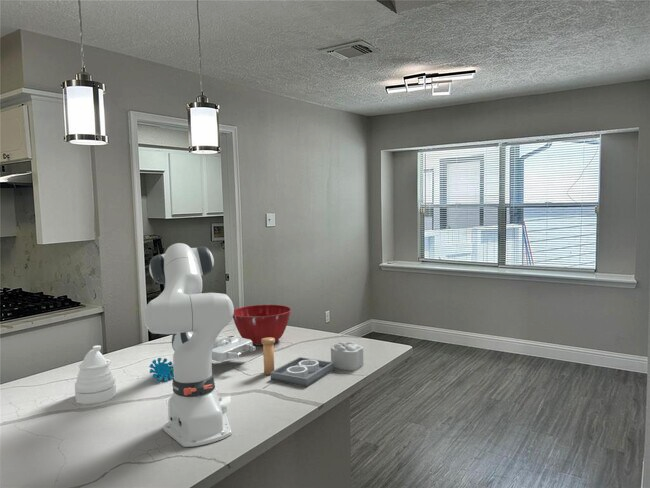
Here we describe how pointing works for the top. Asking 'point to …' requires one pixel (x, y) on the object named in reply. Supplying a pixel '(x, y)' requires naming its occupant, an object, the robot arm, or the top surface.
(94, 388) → the honey pot
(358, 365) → the lumpy-topped squat cylinder
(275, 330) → the mixing bowl
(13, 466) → the top surface
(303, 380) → the tray
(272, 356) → the round-headed peg
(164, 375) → the blue knobbed disc
